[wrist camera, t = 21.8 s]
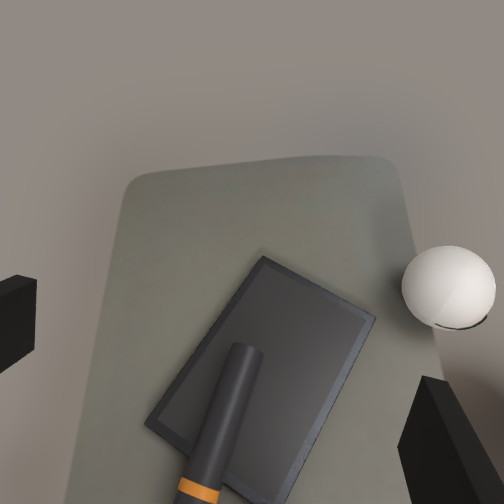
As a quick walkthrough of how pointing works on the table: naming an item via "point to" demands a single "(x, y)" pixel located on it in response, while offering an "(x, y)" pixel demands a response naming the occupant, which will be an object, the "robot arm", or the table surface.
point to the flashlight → (220, 427)
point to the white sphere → (449, 288)
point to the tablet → (270, 377)
